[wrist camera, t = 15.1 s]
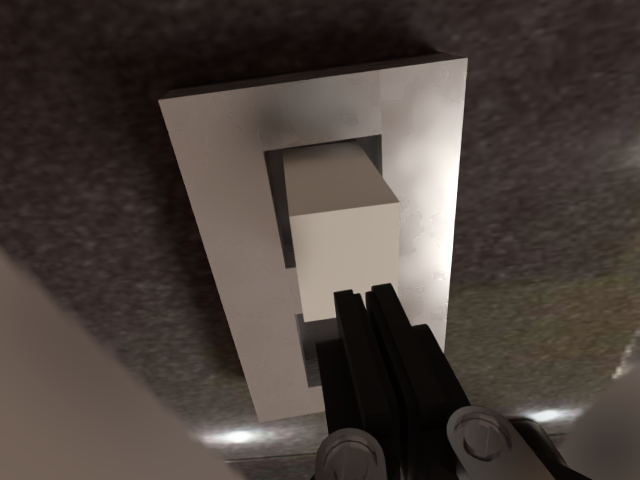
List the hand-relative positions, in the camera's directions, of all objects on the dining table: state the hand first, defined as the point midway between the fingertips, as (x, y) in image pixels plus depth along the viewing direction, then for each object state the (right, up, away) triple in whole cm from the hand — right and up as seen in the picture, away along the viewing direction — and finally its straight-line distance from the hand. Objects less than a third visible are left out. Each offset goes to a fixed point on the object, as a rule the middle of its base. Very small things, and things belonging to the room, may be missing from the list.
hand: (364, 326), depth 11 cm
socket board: (-1, +2, +11) cm, 11 cm away
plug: (-1, +5, +8) cm, 10 cm away
